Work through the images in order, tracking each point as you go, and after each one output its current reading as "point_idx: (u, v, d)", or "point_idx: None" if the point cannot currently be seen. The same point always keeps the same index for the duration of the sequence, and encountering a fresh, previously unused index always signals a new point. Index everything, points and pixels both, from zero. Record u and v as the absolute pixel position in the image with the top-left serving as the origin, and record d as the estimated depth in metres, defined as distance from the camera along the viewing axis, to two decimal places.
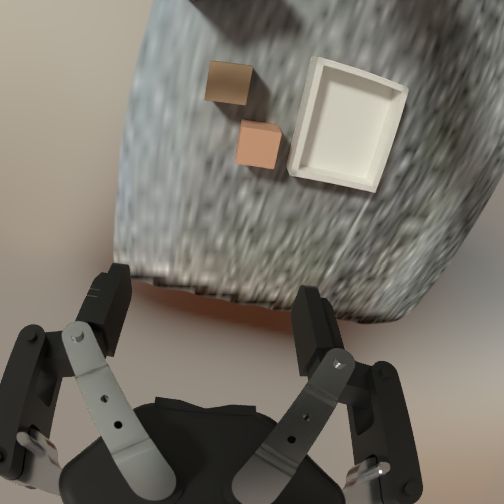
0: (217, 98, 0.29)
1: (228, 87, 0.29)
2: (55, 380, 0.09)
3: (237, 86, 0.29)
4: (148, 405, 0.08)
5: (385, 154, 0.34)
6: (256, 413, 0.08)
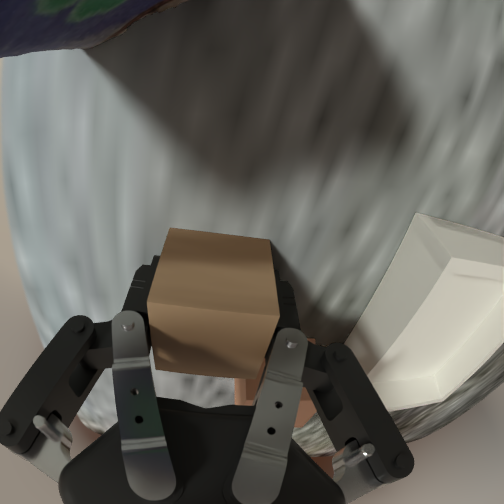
0: (187, 370, 0.12)
1: (210, 355, 0.12)
2: (93, 373, 0.10)
3: (234, 353, 0.11)
4: None
5: (477, 366, 0.17)
6: None
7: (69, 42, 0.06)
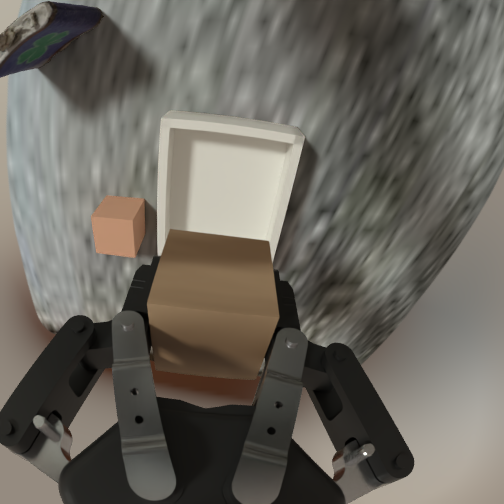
0: (187, 370, 0.12)
1: (210, 356, 0.12)
2: (93, 373, 0.10)
3: (234, 354, 0.12)
4: None
5: (276, 229, 0.29)
6: None
7: (29, 68, 0.18)
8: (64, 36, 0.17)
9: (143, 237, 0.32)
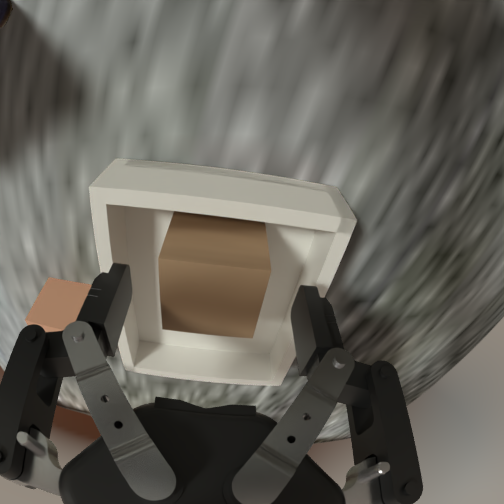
0: (191, 328, 0.14)
1: (211, 311, 0.13)
2: (55, 380, 0.09)
3: (233, 310, 0.13)
4: (148, 405, 0.08)
5: (293, 345, 0.19)
6: (256, 413, 0.08)
7: None
8: None
9: None
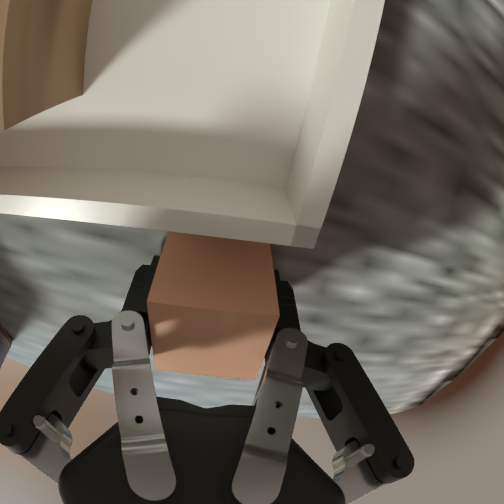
0: None
1: None
2: (93, 373, 0.10)
3: None
4: None
5: None
6: None
7: None
8: None
9: (268, 252, 0.13)
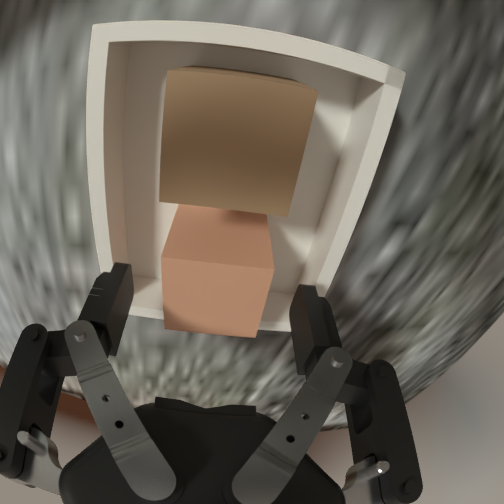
0: (200, 198, 0.10)
1: (232, 162, 0.09)
2: (57, 379, 0.09)
3: (264, 159, 0.09)
4: (148, 405, 0.08)
5: (331, 261, 0.15)
6: (256, 413, 0.08)
7: None
8: None
9: (265, 222, 0.15)
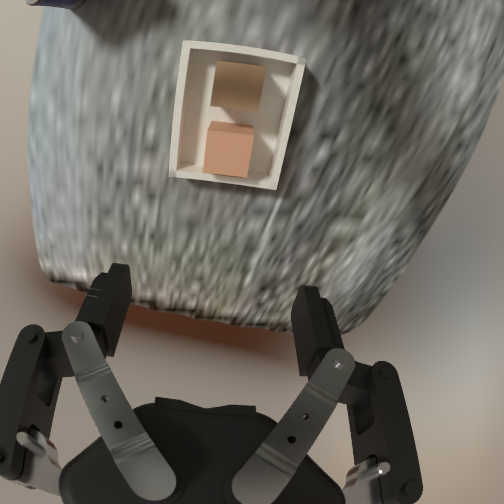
0: (225, 104, 0.26)
1: (237, 91, 0.25)
2: (55, 380, 0.09)
3: (248, 90, 0.25)
4: (148, 405, 0.08)
5: (282, 142, 0.30)
6: (256, 413, 0.08)
7: (66, 5, 0.18)
8: None
9: (251, 127, 0.30)
